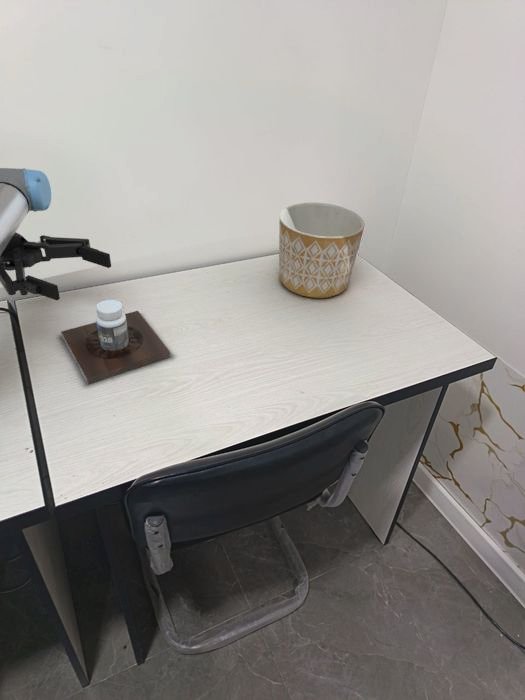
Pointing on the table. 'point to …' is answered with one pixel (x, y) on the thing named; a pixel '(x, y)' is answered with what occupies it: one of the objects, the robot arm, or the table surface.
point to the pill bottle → (111, 325)
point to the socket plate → (110, 363)
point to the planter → (318, 248)
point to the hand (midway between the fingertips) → (84, 276)
